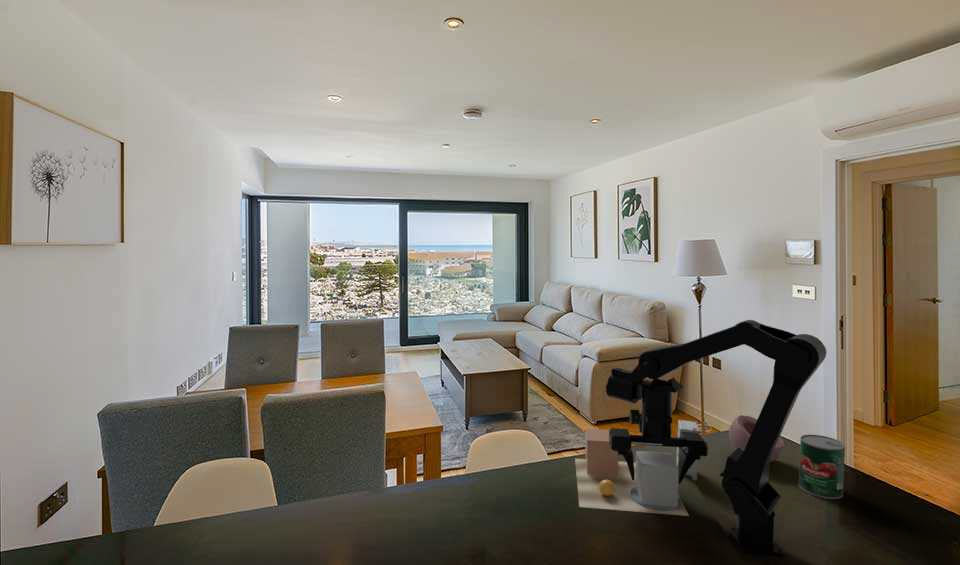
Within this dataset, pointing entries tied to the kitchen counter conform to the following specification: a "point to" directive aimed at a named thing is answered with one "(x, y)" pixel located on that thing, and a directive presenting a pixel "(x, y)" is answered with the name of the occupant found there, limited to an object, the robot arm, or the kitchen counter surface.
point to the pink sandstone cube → (600, 453)
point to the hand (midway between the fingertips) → (655, 481)
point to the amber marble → (606, 487)
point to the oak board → (617, 492)
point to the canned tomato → (821, 466)
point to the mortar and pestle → (742, 433)
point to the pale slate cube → (656, 478)
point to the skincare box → (682, 427)
